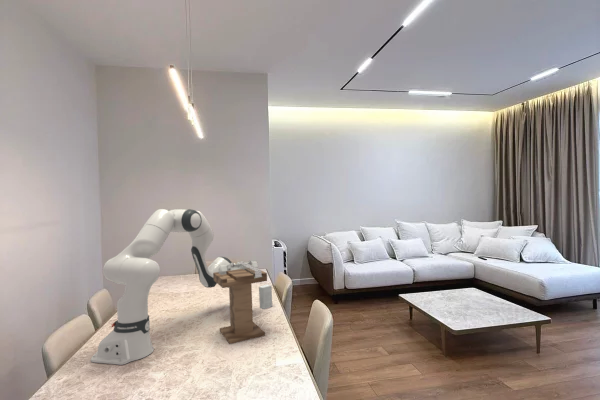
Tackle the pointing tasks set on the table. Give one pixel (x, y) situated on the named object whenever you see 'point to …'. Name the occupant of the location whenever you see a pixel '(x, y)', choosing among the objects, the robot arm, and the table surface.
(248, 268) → the aluminium bar
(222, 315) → the table surface
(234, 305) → the walnut pedestal
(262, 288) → the skincare box
